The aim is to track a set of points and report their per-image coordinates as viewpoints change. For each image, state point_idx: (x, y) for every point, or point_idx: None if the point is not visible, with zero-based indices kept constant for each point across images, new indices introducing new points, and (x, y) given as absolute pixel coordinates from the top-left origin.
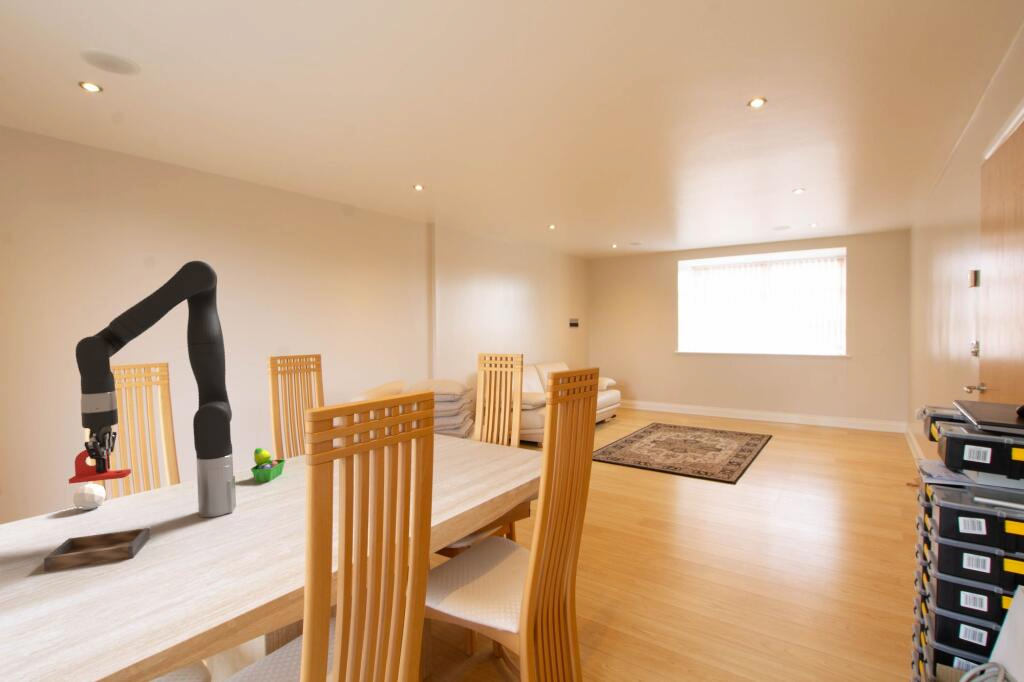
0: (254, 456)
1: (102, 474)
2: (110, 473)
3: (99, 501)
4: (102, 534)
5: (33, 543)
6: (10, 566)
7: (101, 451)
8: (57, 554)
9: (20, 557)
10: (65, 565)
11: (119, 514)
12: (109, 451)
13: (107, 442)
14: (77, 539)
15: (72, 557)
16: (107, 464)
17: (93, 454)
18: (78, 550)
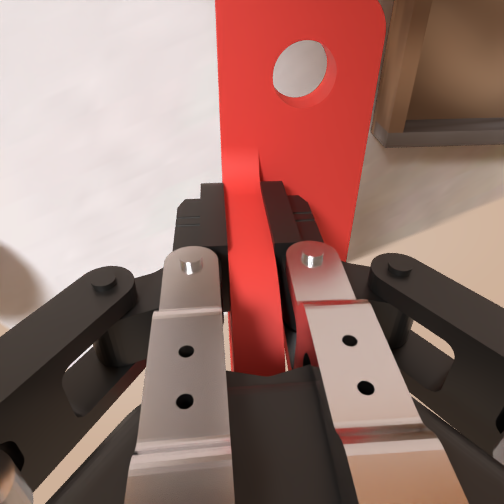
0: None
1: (312, 181)
2: (313, 130)
3: None
4: (414, 29)
5: None
6: (410, 233)
7: (434, 307)
8: (493, 126)
9: (354, 240)
10: None
11: (29, 108)
12: (197, 280)
13: (337, 377)
14: (406, 114)
15: None
16: (228, 210)
17: (398, 345)
18: (415, 93)
